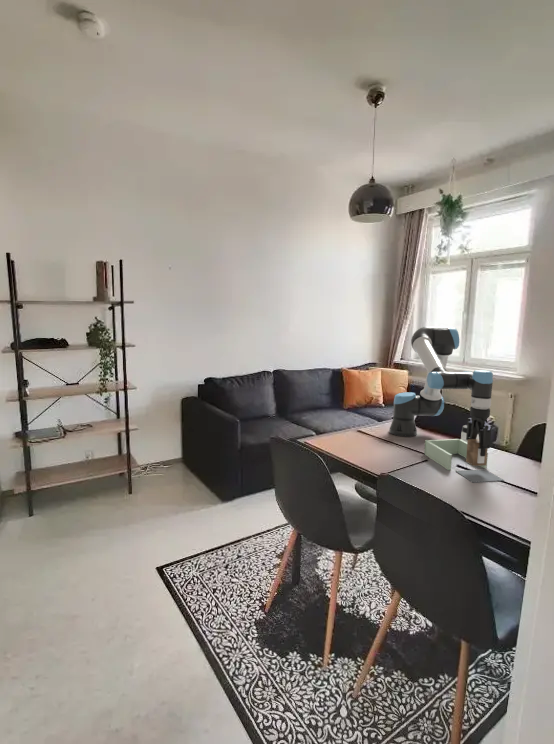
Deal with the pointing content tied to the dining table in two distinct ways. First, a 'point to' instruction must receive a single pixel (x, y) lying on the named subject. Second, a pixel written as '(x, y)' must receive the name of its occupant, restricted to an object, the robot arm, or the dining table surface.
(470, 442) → the block
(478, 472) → the mat
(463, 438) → the jar
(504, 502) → the dining table surface
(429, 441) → the u-shaped enclosure
